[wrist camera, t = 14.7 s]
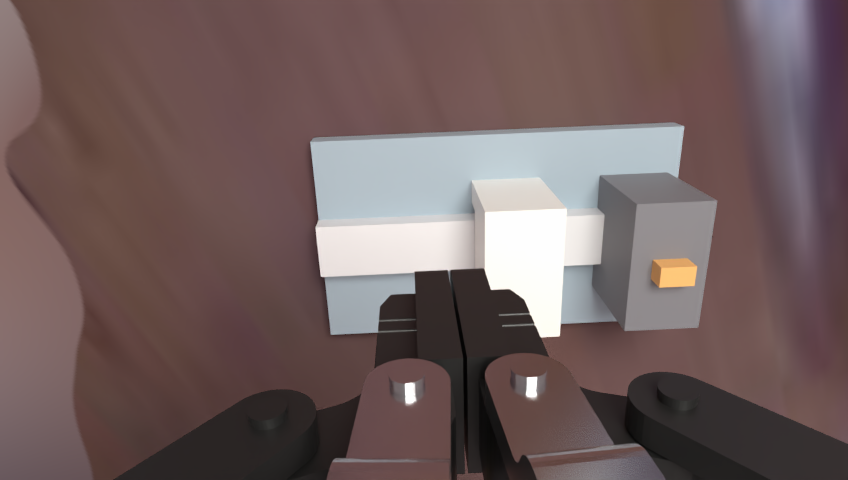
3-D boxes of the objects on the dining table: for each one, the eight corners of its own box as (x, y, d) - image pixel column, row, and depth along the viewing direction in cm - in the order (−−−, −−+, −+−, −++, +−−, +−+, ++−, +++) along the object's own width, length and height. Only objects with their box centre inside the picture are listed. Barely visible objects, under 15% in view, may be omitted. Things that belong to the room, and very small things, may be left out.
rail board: (313, 137, 38) (287, 171, 29) (674, 122, 38) (751, 151, 30) (333, 324, 43) (315, 400, 34) (652, 309, 43) (713, 380, 35)
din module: (471, 180, 38) (485, 212, 31) (539, 177, 38) (566, 208, 31) (472, 290, 41) (484, 339, 34) (535, 287, 41) (559, 336, 34)
